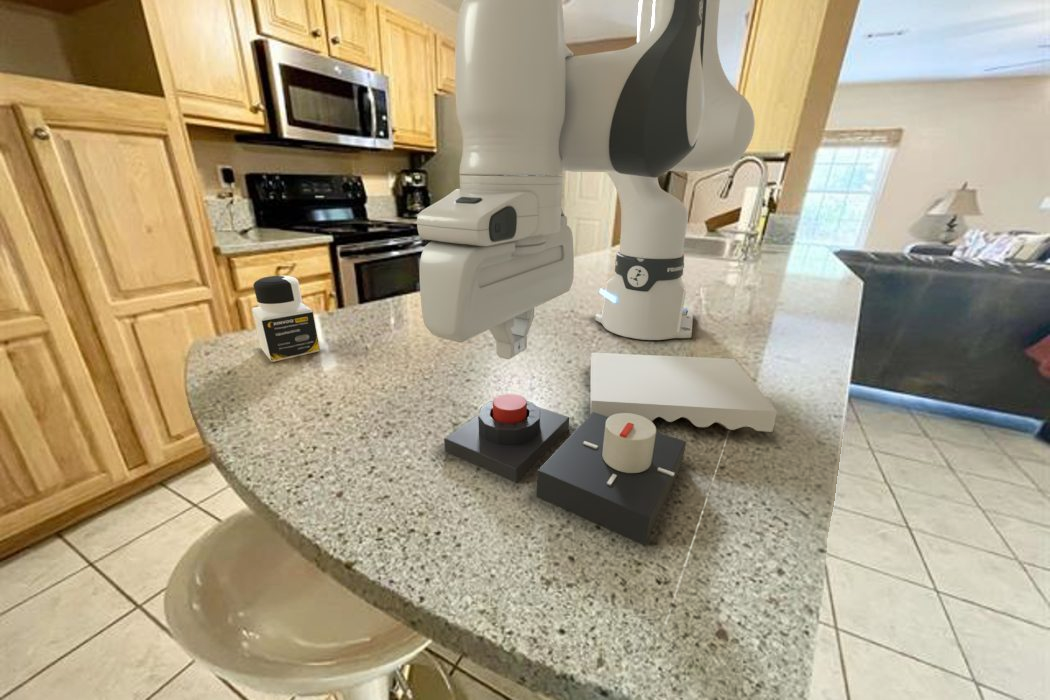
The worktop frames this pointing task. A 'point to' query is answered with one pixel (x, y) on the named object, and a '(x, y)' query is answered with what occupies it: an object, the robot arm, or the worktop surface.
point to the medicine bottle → (283, 319)
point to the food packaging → (679, 390)
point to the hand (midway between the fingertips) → (511, 353)
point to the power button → (509, 408)
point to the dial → (628, 442)
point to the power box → (507, 440)
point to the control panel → (609, 481)
